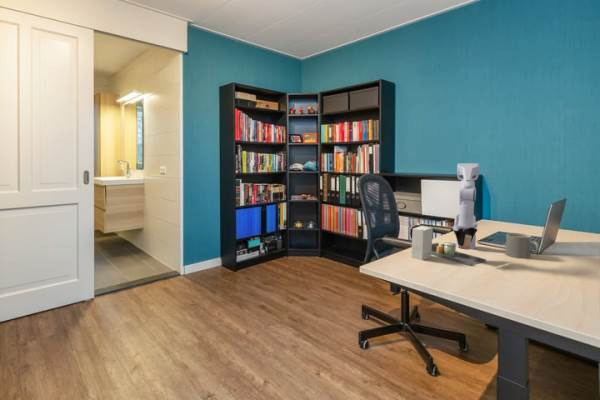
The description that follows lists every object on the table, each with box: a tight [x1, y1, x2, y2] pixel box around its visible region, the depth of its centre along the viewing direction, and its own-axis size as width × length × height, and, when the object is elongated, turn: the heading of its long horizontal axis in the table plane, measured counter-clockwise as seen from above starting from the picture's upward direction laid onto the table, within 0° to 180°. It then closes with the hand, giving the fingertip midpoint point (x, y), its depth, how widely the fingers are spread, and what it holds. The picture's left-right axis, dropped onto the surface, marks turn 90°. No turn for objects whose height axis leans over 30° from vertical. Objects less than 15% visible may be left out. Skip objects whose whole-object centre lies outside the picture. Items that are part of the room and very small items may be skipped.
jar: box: [457, 234, 472, 250], centre depth 150 cm, size 5×5×6 cm
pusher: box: [436, 243, 444, 254], centre depth 160 cm, size 8×1×5 cm, turn 119°
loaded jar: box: [443, 241, 457, 257], centre depth 157 cm, size 5×5×6 cm
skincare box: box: [410, 225, 433, 261], centre depth 154 cm, size 8×6×15 cm
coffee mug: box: [504, 232, 540, 260], centre depth 157 cm, size 13×10×10 cm
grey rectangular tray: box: [431, 242, 487, 267], centre depth 156 cm, size 12×26×4 cm, turn 29°
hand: (464, 244), depth 150 cm, fingers closed on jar, 5 cm apart
